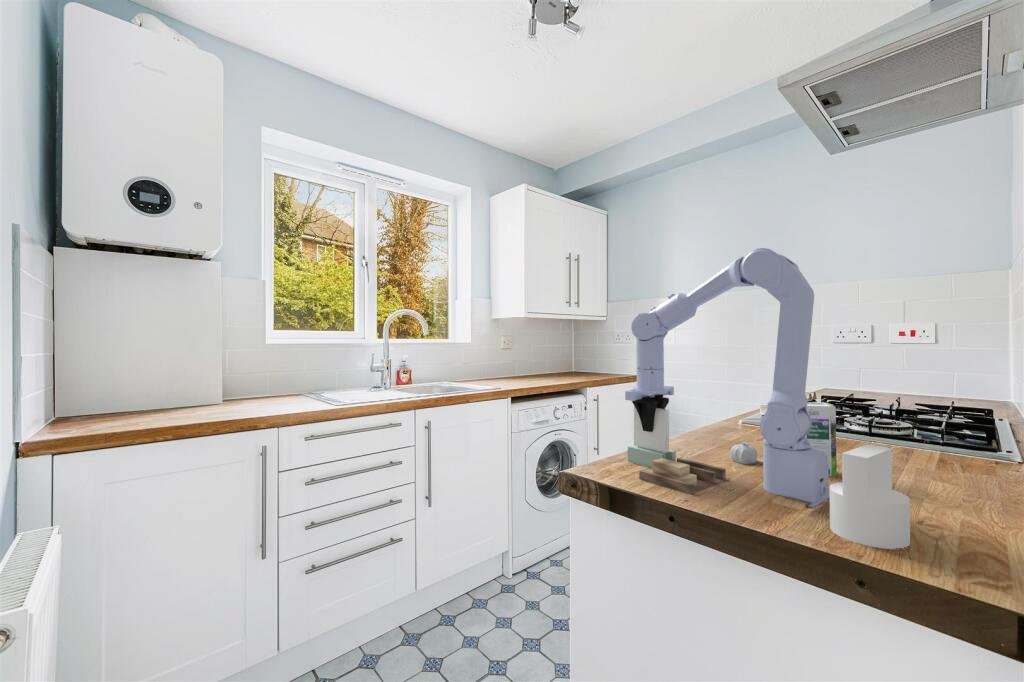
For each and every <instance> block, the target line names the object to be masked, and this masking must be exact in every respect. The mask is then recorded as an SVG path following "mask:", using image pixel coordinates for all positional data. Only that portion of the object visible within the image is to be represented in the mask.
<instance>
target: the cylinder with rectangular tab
mask: <svg viewBox="0 0 1024 682" xmlns="http://www.w3.org/2000/svg"><path fill="white" fill-rule="evenodd" d="M841 456H842V457H841V459H842V460H841V461H842V462H841V463H842V464H841V465H842V473H841V474H842V477H841V478H842V482H836V483H831V484H830V485H829V495H830V498H829V529H830V531H832V533H834V534H835V535H837V536H838V537H840V538H842V539H844V540H847V541H850V542H852V543H856V544H860V545H863V546H868V547H872V548H877V549H886V550H897V549H896V548H902V549H905V548H904V547H906V548H908V547H907V546H909V547H910V545H911V499H910V497H909V496H907V495H906V494H904V493H902V492H900V491H897V490H895V489H893V449H892V448H891V447H886V446H881V445H874V444H864V445H862V446H859V447H856V448H852V449H850V450H847V451H844V452H842V455H841ZM894 548H895V549H894Z"/></svg>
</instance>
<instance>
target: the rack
mask: <svg viewBox="0 0 1024 682" xmlns="http://www.w3.org/2000/svg"><path fill="white" fill-rule="evenodd" d="M676 462H680V463H684V464H688V465H690V474H694V475H697V485H695V486H694V484H691V483H687V482H684V481H680V480H677V479H673V478H669V477H666V476H662V475H659V474H655V473H653V472H651V471H648V470H644V469H641V470H639V477H638V478H639V480H643V481H646V482H649V483H653V484H655V485H658V486H661V487H666V488H667V489H668V488H669V489H672V490H676V491H679V492H681V493H685V494H689V495H692V494H695V493H697V492H700V491H703V490H705V489H708V488H710V487H713V486H716V485H718V484H720V483H724V482H726V481H729V480H731V479H732V477H728V476H727V475H726V473H727V472H726V468H724V467H720V466H716V465H711V464H708V463H703V462H699V461H695V460H689V459H686V458H682V457H678V458H676Z"/></svg>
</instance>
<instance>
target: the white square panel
mask: <svg viewBox="0 0 1024 682" xmlns="http://www.w3.org/2000/svg"><path fill="white" fill-rule="evenodd" d="M633 446H634V447H642V448H646V449H650V450H654V451H658V452H662V453H667V452H669V450H670V410H669V409H666V408H665V409H660V408H656V411H655V416H654V427H653V432H647V431H643V428H642V424H641V420H640V417H639V414H638V412H637V410H636V408H635V406H634V405H633Z"/></svg>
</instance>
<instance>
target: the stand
mask: <svg viewBox="0 0 1024 682" xmlns="http://www.w3.org/2000/svg"><path fill="white" fill-rule="evenodd" d="M676 453H677V452H676V450H673V449H672V450H671V449H669V452H667V453H662V452H658V451H654V450H650V449H646V448H642V447H638V446H634V445H629V446H627V462H629V463H633V464H635V465H636V464H637V465H639V466H643V467H648V468H652V469H653V461H654V460H657V459H661V458H663V459H667V460H672V461H676V462H677V458H676V457H677V456H676Z"/></svg>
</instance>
